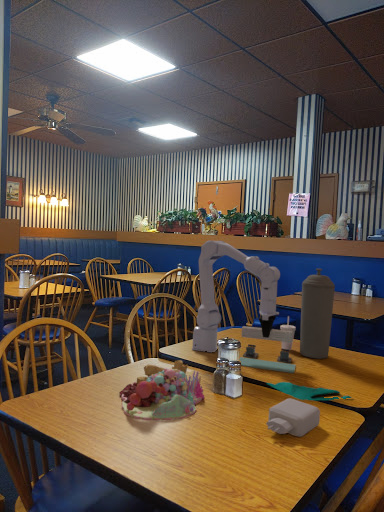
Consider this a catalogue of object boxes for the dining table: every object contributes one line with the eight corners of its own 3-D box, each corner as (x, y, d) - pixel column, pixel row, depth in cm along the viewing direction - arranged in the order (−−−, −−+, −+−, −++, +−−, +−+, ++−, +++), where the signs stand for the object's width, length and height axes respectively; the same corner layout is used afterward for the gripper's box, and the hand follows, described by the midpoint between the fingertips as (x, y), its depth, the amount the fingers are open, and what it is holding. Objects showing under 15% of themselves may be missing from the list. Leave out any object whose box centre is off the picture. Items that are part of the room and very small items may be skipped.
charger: (254, 433, 96) (285, 414, 107) (289, 448, 89) (319, 426, 101) (255, 413, 95) (286, 396, 107) (290, 427, 89) (320, 408, 100)
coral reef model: (114, 387, 120) (115, 356, 120) (189, 381, 128) (191, 353, 127) (127, 425, 97) (128, 387, 96) (219, 416, 104) (220, 381, 103)
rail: (241, 336, 151) (242, 327, 151) (242, 335, 154) (243, 326, 153) (291, 342, 146) (291, 332, 145) (291, 340, 148) (292, 331, 148)
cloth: (257, 390, 124) (257, 382, 124) (274, 378, 136) (275, 371, 135) (345, 414, 110) (346, 406, 110) (356, 399, 121) (357, 391, 121)
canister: (334, 361, 156) (340, 270, 155) (301, 359, 157) (307, 269, 155) (324, 351, 169) (330, 268, 167) (294, 350, 169) (299, 266, 168)
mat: (231, 364, 146) (231, 363, 146) (236, 357, 155) (236, 356, 155) (293, 373, 140) (293, 372, 140) (295, 365, 148) (295, 364, 148)
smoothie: (278, 350, 168) (280, 316, 167) (279, 346, 174) (281, 314, 173) (294, 352, 166) (296, 318, 165) (294, 348, 172) (296, 315, 172)
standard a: (242, 356, 157) (243, 347, 156) (245, 352, 162) (246, 343, 162) (255, 358, 155) (256, 349, 155) (258, 354, 161) (258, 345, 161)
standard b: (276, 361, 153) (277, 351, 152) (278, 356, 158) (279, 347, 158) (290, 363, 151) (291, 353, 151) (291, 358, 157) (292, 349, 157)
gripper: (277, 303, 141) (275, 342, 141) (281, 298, 155) (279, 333, 155) (257, 301, 143) (255, 339, 144) (262, 296, 157) (260, 331, 157)
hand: (266, 336), depth 150 cm, fingers closed on rail, 3 cm apart
